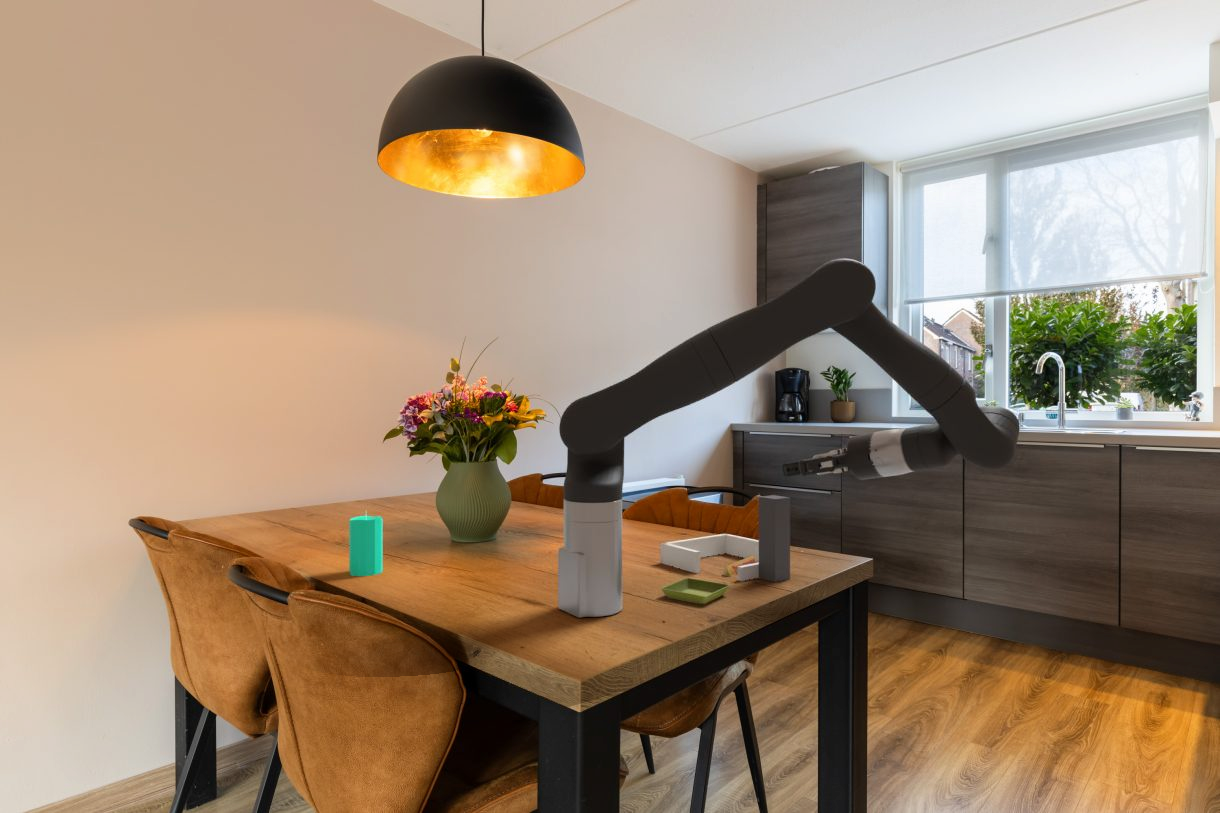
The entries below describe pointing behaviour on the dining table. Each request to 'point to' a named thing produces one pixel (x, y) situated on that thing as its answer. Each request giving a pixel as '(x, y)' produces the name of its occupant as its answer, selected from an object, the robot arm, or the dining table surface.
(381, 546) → the candle
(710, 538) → the white walled enclosure
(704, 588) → the green square dish
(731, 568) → the chocolate bar
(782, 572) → the grey upright piece
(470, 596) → the dining table surface
